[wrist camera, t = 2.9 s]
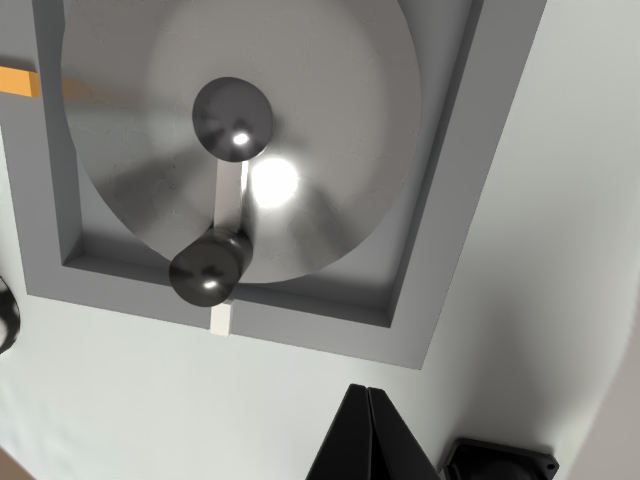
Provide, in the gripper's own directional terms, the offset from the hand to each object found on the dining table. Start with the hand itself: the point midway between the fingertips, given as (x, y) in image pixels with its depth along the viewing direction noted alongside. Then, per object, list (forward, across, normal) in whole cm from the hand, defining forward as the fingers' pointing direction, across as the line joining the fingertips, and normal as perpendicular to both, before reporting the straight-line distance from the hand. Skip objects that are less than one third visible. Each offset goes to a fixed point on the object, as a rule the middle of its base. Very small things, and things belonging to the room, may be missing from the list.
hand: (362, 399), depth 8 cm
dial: (+8, +6, -6) cm, 12 cm away
